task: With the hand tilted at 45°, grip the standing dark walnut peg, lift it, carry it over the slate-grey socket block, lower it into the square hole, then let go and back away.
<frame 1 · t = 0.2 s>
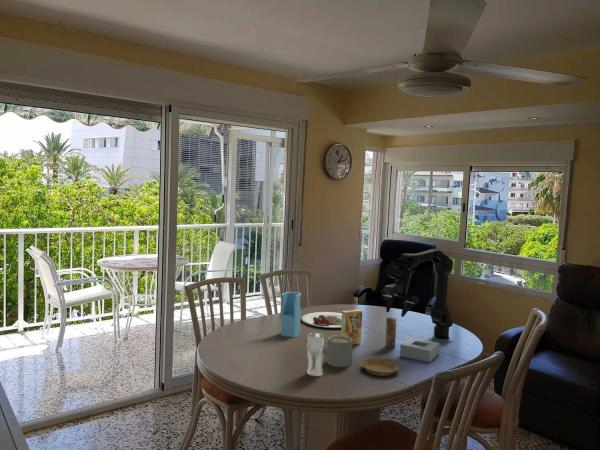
hand: (394, 314, 219), 15 cm above the table, tool tilted 15°, fingers open, 9 cm apart
candy box: (350, 343, 224), on the table
vase: (290, 334, 234), on the table
plated food: (329, 322, 259), on the table
walnut peg: (390, 346, 221), on the table
socket block: (419, 355, 211), on the table
plant saucer: (379, 371, 191), on the table
coffee mug: (341, 362, 199), on the table
beer glass: (315, 374, 185), on the table
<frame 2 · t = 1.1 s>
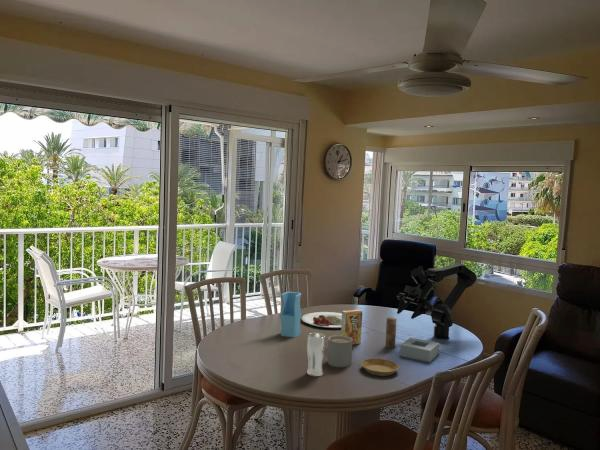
hand: (404, 315, 225), 13 cm above the table, tool tilted 45°, fingers open, 9 cm apart
nothing on the table moved.
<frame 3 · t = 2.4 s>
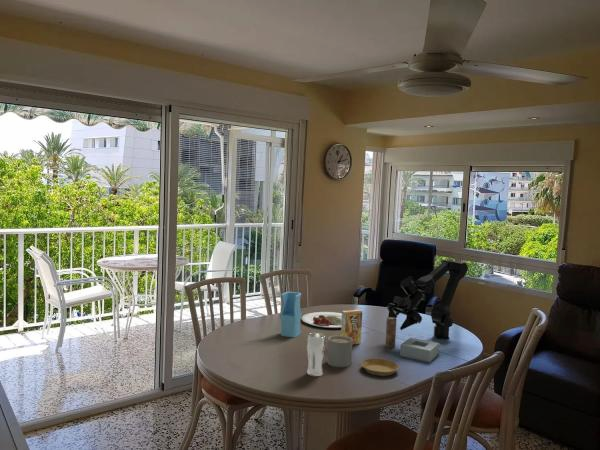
hand: (393, 326, 222), 9 cm above the table, tool tilted 45°, fingers open, 9 cm apart
nothing on the table moved.
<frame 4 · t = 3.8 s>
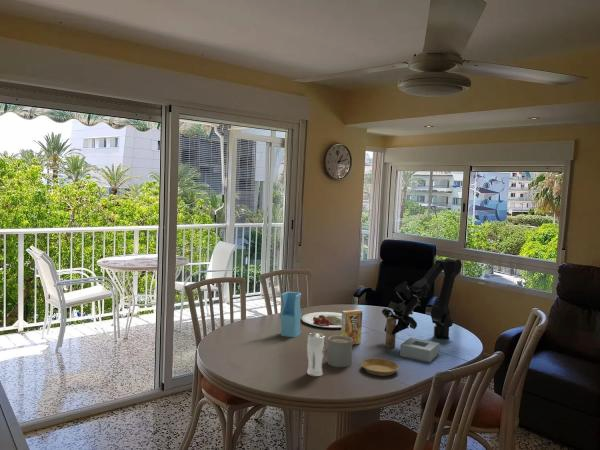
hand: (388, 332, 220), 7 cm above the table, tool tilted 45°, fingers closed on walnut peg, 4 cm apart
walnut peg: (390, 346, 221), on the table, touching gripper
everything else where it was.
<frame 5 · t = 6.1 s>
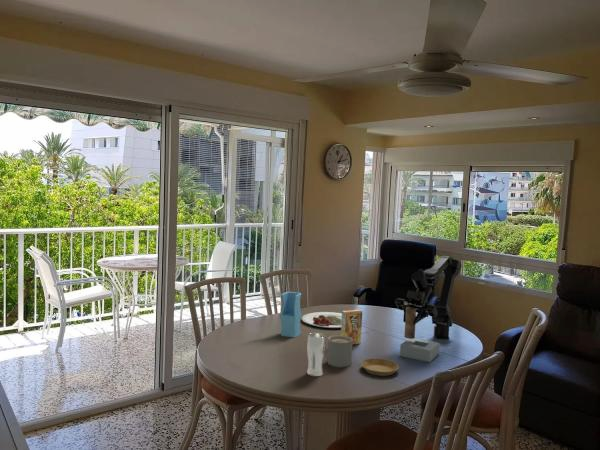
hand: (408, 323, 212), 14 cm above the table, tool tilted 45°, fingers closed on walnut peg, 4 cm apart
walnut peg: (409, 337, 213), point 7 cm above the table, touching gripper
everything else where it was.
when the fingers open (8 cm above the table, at t = 8.4 s): walnut peg stays where it is, resting on socket block.
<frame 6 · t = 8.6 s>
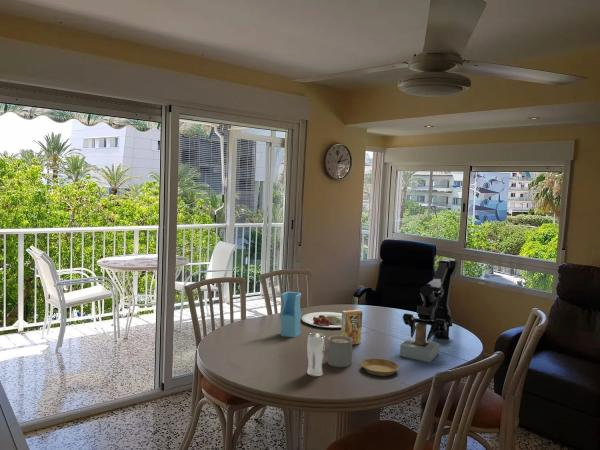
hand: (419, 338, 209), 8 cm above the table, tool tilted 45°, fingers open, 7 cm apart
walnut peg: (419, 353, 211), point 1 cm above the table, touching socket block
everything else where it was.
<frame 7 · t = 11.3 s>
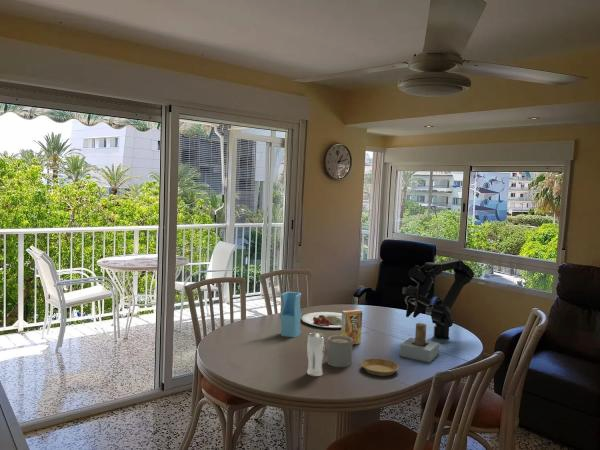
hand: (410, 317, 226), 13 cm above the table, tool tilted 30°, fingers open, 9 cm apart
nothing on the table moved.
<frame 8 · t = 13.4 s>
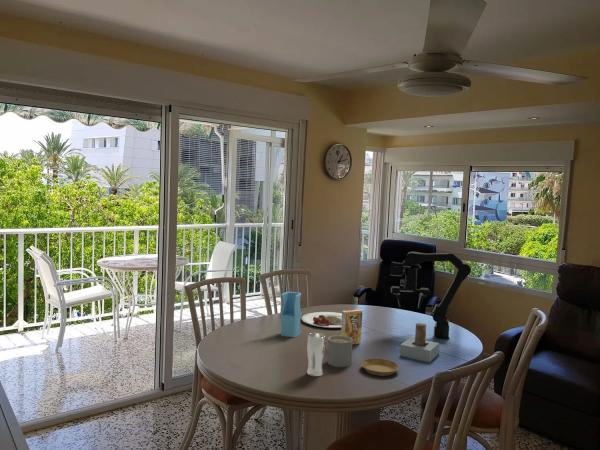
hand: (409, 307, 243), 13 cm above the table, tool pointing down, fingers open, 9 cm apart
nothing on the table moved.
at the end: walnut peg 0.0 cm off-centre on the socket block, point 0.5 cm above the socket block's base; walnut peg tilted 0°; the gripper is holding nothing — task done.
